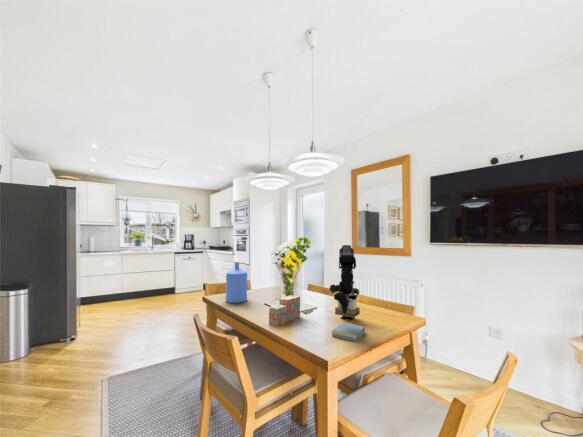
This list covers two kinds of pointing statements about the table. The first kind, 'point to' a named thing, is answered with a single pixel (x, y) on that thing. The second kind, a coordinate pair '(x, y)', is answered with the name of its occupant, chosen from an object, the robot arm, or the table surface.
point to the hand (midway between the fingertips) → (347, 311)
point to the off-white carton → (352, 304)
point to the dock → (348, 331)
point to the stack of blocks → (285, 310)
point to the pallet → (347, 312)
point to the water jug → (236, 285)
